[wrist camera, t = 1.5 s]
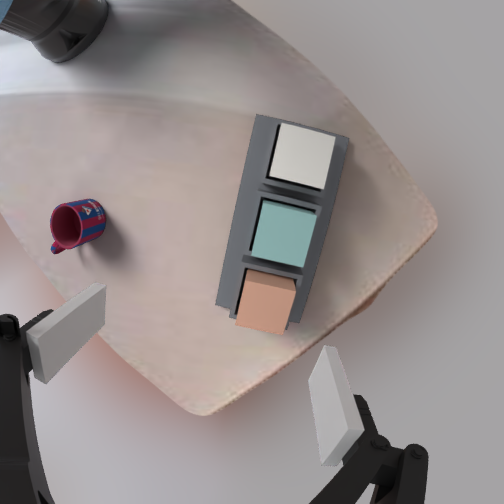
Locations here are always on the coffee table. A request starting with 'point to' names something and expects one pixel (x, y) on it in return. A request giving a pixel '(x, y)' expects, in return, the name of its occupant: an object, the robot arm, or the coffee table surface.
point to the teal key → (283, 233)
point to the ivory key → (302, 156)
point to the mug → (76, 224)
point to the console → (282, 191)
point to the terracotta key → (266, 301)
